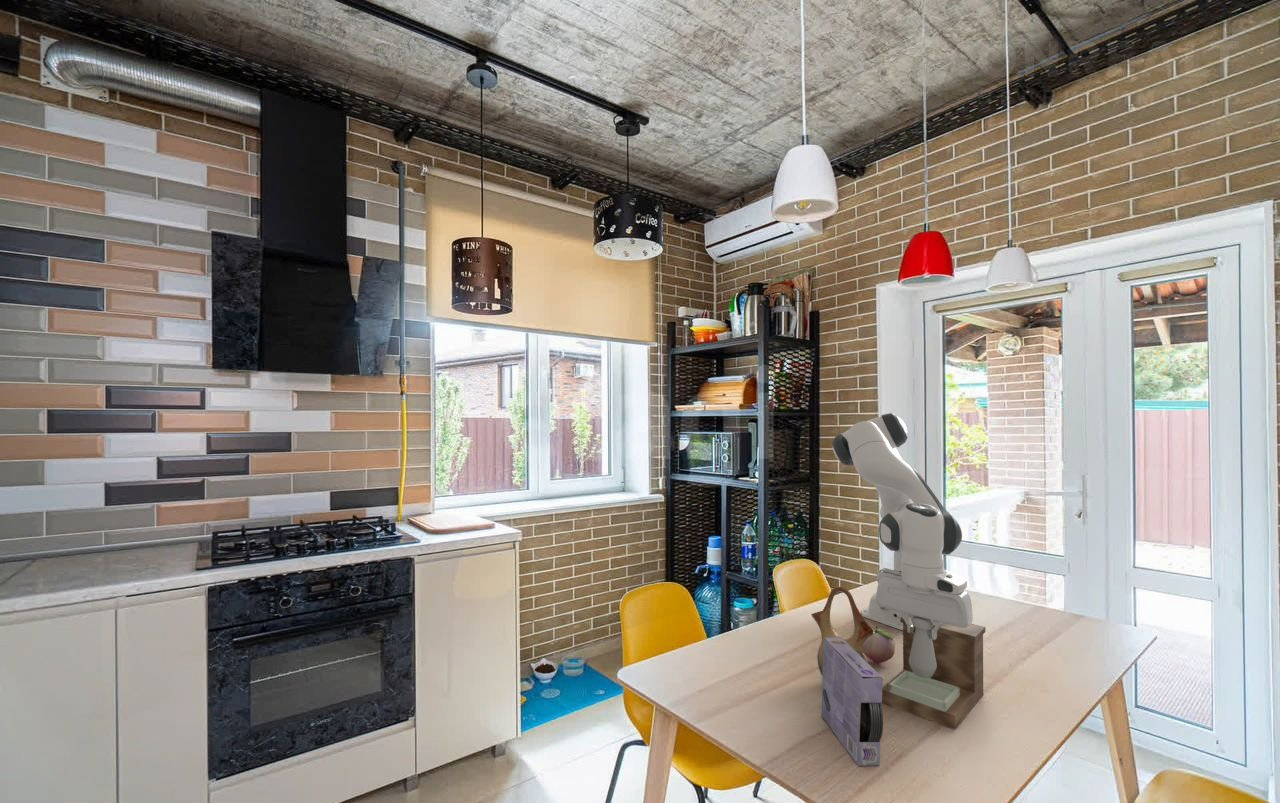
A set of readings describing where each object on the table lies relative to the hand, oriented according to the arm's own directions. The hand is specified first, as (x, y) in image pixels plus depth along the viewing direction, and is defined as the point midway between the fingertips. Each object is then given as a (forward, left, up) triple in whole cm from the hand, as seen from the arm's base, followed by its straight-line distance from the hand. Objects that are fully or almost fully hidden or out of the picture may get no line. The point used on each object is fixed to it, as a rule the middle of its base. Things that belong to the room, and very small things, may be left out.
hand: (922, 635), depth 130 cm
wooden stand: (0, +6, -16) cm, 17 cm away
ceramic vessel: (-17, -6, -17) cm, 24 cm away
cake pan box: (-6, -25, -17) cm, 30 cm away
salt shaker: (0, 0, -9) cm, 9 cm away
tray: (0, 0, -13) cm, 13 cm away
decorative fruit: (-17, +15, -17) cm, 28 cm away
